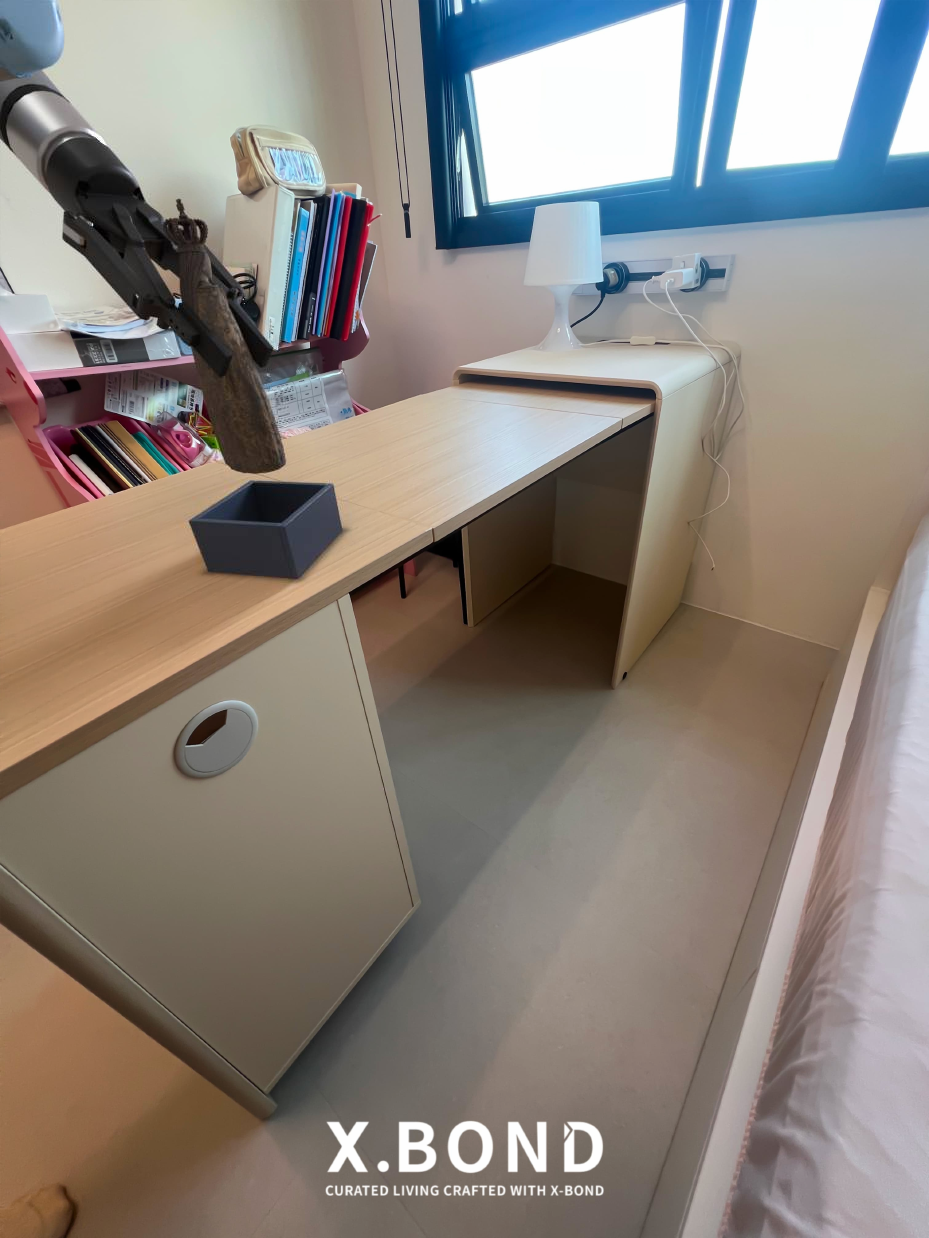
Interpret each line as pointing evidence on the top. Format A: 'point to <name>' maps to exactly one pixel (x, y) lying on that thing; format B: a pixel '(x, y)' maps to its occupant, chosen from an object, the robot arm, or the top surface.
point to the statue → (240, 392)
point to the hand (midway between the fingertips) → (247, 361)
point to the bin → (268, 528)
